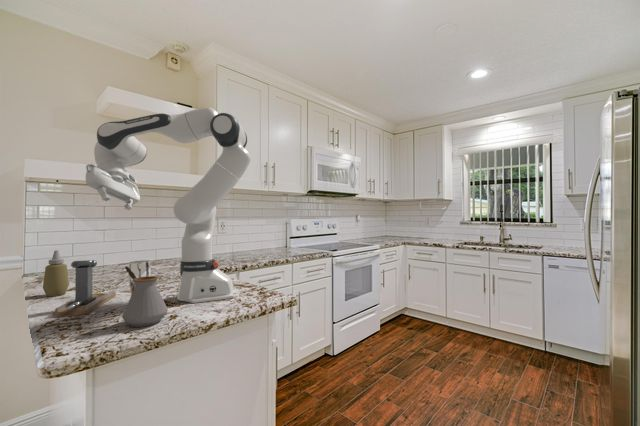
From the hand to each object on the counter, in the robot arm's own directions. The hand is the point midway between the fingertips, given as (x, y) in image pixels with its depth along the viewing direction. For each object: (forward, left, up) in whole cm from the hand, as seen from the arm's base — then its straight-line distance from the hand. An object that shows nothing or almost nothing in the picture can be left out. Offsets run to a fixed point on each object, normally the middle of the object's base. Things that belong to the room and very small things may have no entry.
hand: (117, 204), depth 108 cm
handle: (+9, +5, -34) cm, 36 cm away
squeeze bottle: (+29, -23, -36) cm, 52 cm away
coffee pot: (-13, +21, -36) cm, 44 cm away
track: (+9, -1, -36) cm, 37 cm away
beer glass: (-8, +2, -36) cm, 37 cm away
